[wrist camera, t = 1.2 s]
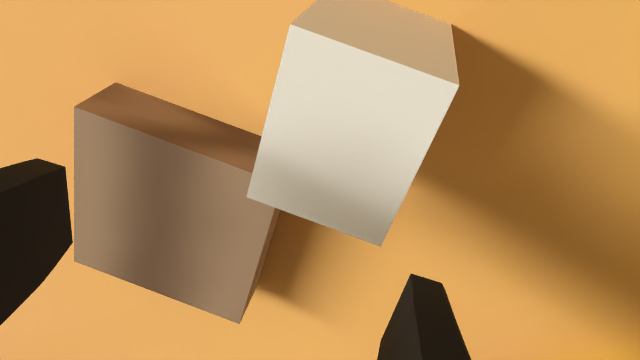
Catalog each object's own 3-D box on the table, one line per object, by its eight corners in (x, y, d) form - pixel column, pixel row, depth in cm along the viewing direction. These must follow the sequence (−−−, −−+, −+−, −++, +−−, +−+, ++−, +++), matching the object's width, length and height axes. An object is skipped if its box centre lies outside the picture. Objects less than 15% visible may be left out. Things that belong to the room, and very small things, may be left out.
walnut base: (301, 147, 19) (281, 184, 17) (260, 278, 24) (239, 324, 21) (120, 79, 20) (74, 106, 17) (112, 222, 24) (74, 261, 21)
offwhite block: (451, 23, 16) (459, 85, 10) (394, 149, 18) (380, 246, 13) (336, -18, 16) (290, 23, 11) (297, 114, 18) (246, 197, 13)
